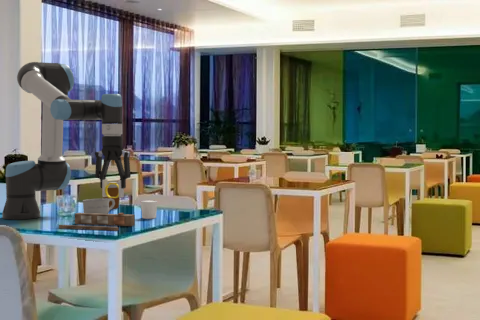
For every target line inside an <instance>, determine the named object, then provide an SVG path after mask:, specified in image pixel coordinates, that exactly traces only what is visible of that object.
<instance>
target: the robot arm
mask: <svg viewBox="0 0 480 320" xmlns="http://www.w3.org/2000/svg"><path fill="white" fill-rule="evenodd" d="M16 80H17V83H18V86H19V87H20V89H22V90H23V91H24V92H26V93H28V94H32V95H33V96H35V97H36V98H37V99H38V100H40V102H42V122H41V123H42V125H41V126H42V127H41V128H42V129H41V130H42V131H41V132H42V133H41V155H40V156H39V157H38V158H37V163H36V162H35V160H22V161H15V162H12V163H9V164H7V165H6V167H5V189H6V190H5V191H6V192H5V195H6V200H5V204H4V206H3V210H2V213H1V217H2V219H3V220H17V221H18V220H31V219H37V218H40V217H41V211H40V207H39V205H38V201H37V199H36V195H37V194H36V192H41V191H43V192H44V191H45V192H46V191H57V190H63V189H65V188H66V187H67V186H68V185H69V183H70V182H71V181H70V180H71V176H72V170H71V166H70V164H69V163H68V162H67V159H66V158H65V156H63V144H64V143H63V139H64V121H75V120H76V121H77V120H78V121H79V120H80V121H81V120H83V121H84V120H85V121H86V120H87V121H90V120H92V121H100V120H101V134H102V136H101V143H102V144H101V145H102V149H101V150H99V151H95V152H94V156H95V173H94V175H95V178H96V179H99V180H100V181H99V184H100V185H99V187H100V189H101V190H102V191H101V192H102V198H103V197H107V195H106V193H105V188H106V186H107V182H108V179H107V177H106V176H107V174H108V169H109V167H110V163H111V161H114V163H115V166H116V169H117V172H118V174H119V175H118V176H119V180H118V182H119V199H120V198H124V197H125V190H124V189H126V188H127V187H126V186H127V185H126V184H127V179H130V178H131V165H130V163H131V162H130V157H131V152H130V151H126V150H124V148H123V144H124V143H123V101H122V100H123V98H122V95H121V94H119V93H103V94H102V95H101V99H73V98H72V99H71V98H70V97H69V92H70V91H72V90H73V87H74V85H75V77H74V74H73V71H72V68H71V67H70V66H69V65H67V64H65V63H59V62H41V61H40V62H38V61H31V62H28V63H25V64H24V65H23V66H21V67H20V69H19V70H18V71H17V76H16ZM103 156H104V158H103ZM122 157H123V159H122ZM122 160H123V163H122ZM102 162H103V163H102ZM102 164H103V165H102ZM107 192H108V191H107Z"/></svg>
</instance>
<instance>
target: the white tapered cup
mask: <svg viewBox="0 0 480 320" xmlns="http://www.w3.org/2000/svg"><path fill="white" fill-rule="evenodd" d="M140 207H141V208H140V210H141V217H142V219H147V220H148V219H151V220H152V219H157V213H158V212H157V209H158V200H155V199H154V200H153V199H150V200H149V199H147V200H141V201H140Z"/></svg>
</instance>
